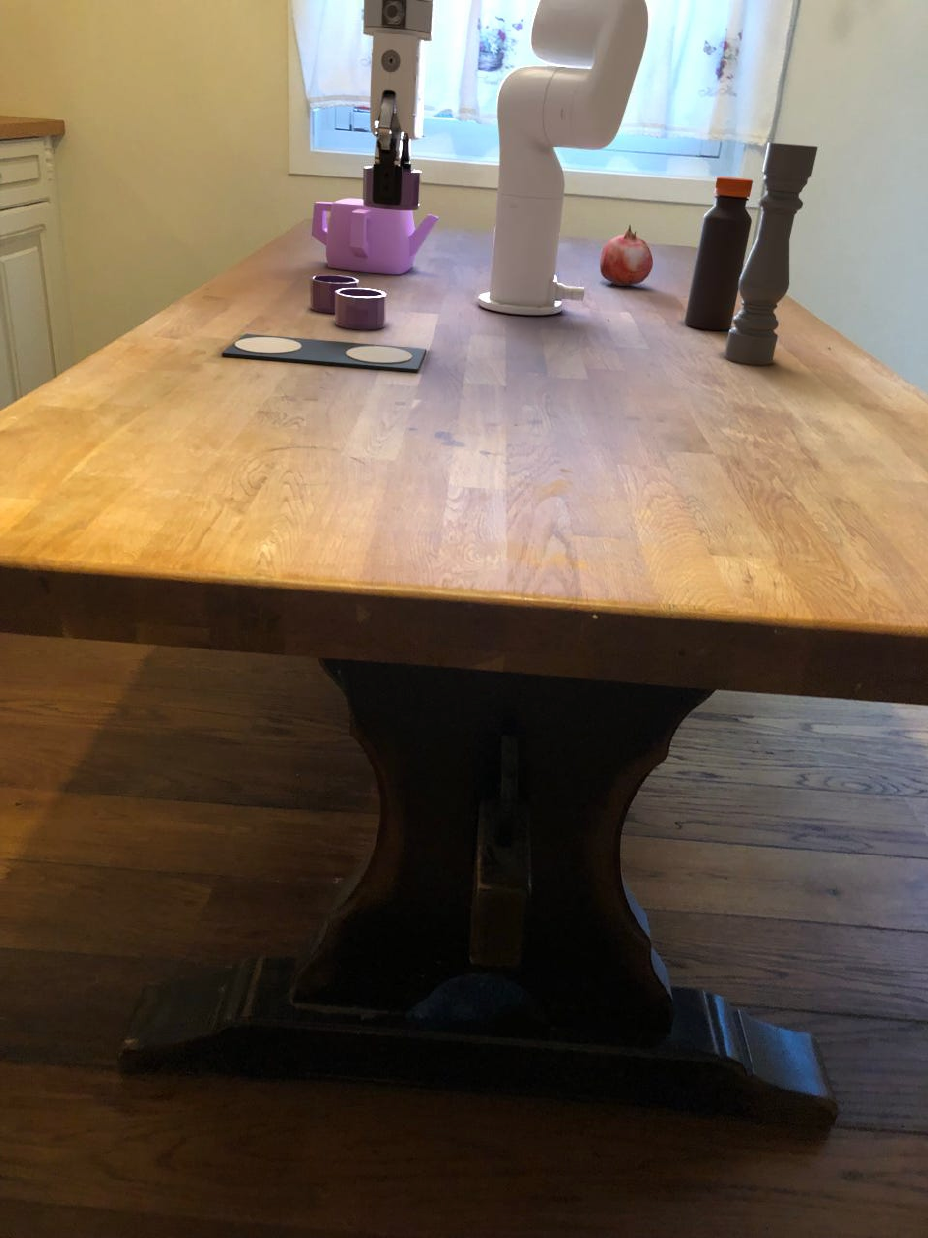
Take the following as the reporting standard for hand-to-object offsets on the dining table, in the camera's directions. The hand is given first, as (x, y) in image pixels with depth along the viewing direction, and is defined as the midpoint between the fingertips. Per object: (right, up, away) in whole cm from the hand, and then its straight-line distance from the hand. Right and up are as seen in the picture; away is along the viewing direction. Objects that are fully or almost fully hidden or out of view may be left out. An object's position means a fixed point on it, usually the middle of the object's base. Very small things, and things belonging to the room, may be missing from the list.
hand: (391, 200), depth 110 cm
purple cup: (-10, -5, +23) cm, 25 cm away
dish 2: (-5, -10, +15) cm, 19 cm away
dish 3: (0, -1, 0) cm, 1 cm away
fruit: (+37, +11, +59) cm, 70 cm away
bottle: (+45, -5, +31) cm, 54 cm away
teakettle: (-7, +13, +57) cm, 59 cm away
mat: (-7, -18, 0) cm, 19 cm away
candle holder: (+45, -15, +13) cm, 50 cm away
